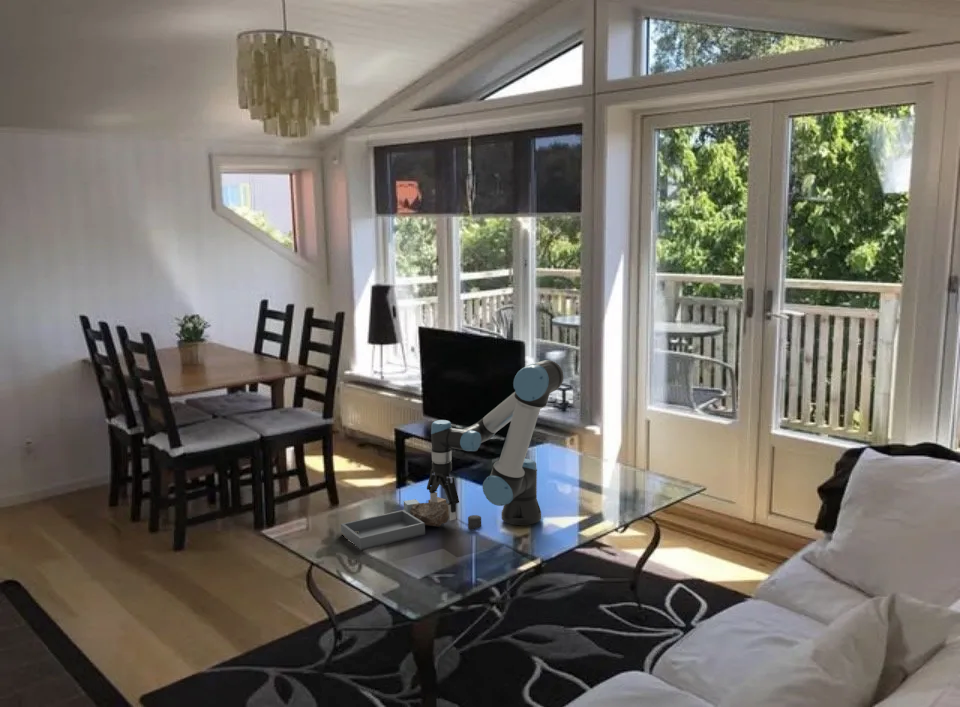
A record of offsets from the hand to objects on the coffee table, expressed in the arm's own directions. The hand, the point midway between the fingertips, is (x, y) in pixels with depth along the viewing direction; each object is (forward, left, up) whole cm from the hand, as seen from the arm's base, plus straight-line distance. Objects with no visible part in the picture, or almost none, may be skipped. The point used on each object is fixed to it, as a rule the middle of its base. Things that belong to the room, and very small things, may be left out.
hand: (443, 514), depth 308 cm
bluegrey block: (+14, +6, -4) cm, 15 cm away
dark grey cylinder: (-10, -8, -4) cm, 13 cm away
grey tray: (+3, +24, -4) cm, 25 cm away
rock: (+2, +2, -3) cm, 4 cm away
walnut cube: (+13, -5, -4) cm, 14 cm away
